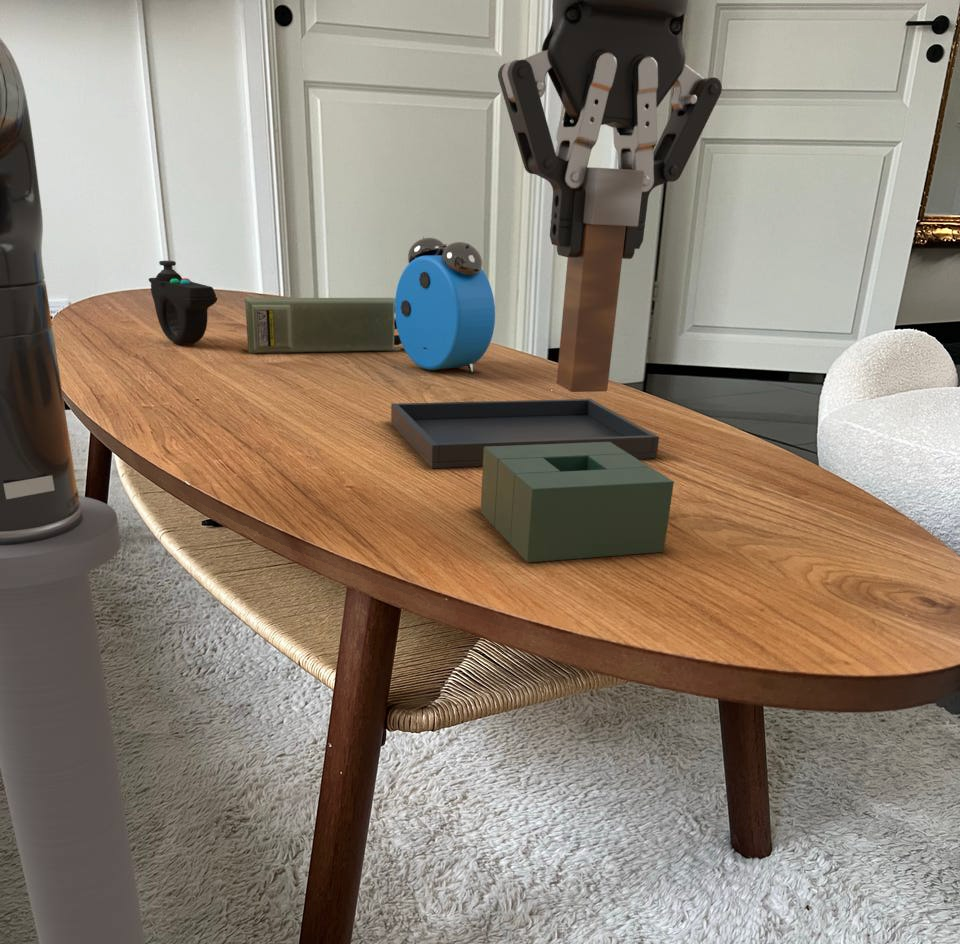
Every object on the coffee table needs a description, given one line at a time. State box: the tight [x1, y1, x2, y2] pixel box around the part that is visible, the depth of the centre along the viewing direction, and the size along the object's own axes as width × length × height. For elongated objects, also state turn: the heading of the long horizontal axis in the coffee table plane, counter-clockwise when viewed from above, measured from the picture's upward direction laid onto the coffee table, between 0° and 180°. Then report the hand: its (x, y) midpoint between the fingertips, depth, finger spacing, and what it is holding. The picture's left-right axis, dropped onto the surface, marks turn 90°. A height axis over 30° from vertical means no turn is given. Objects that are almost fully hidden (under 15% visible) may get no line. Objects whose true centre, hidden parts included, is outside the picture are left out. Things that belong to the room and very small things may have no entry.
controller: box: [148, 260, 218, 345], centre depth 121 cm, size 4×12×10 cm, turn 43°
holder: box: [480, 442, 675, 563], centre depth 65 cm, size 10×10×5 cm
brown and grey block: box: [556, 166, 644, 393], centre depth 59 cm, size 3×5×13 cm, turn 18°
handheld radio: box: [244, 297, 402, 354], centre depth 124 cm, size 7×3×25 cm
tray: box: [390, 398, 660, 469], centre depth 88 cm, size 21×15×2 cm
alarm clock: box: [394, 236, 496, 373], centre depth 114 cm, size 13×6×15 cm, turn 40°
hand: (594, 255), depth 58 cm, fingers closed on brown and grey block, 3 cm apart
